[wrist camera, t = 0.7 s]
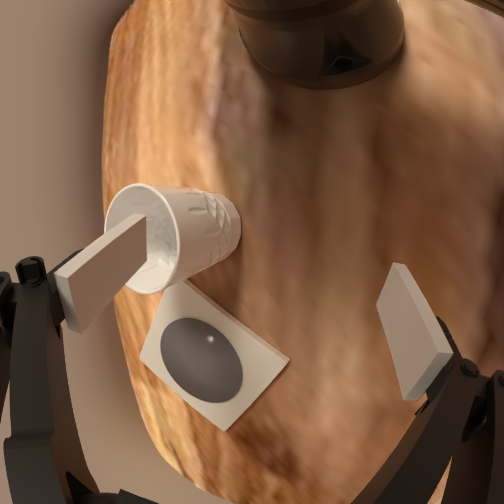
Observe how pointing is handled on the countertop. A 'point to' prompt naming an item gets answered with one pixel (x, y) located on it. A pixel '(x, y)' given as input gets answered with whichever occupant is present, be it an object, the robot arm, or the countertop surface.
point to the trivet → (208, 355)
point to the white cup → (176, 231)
